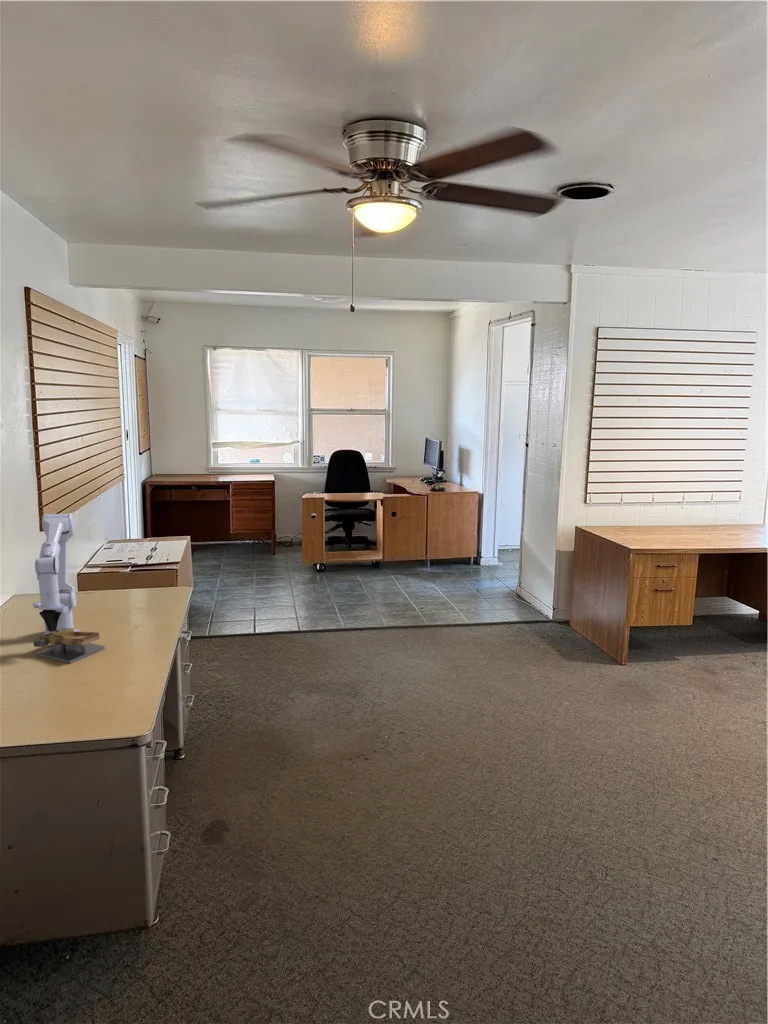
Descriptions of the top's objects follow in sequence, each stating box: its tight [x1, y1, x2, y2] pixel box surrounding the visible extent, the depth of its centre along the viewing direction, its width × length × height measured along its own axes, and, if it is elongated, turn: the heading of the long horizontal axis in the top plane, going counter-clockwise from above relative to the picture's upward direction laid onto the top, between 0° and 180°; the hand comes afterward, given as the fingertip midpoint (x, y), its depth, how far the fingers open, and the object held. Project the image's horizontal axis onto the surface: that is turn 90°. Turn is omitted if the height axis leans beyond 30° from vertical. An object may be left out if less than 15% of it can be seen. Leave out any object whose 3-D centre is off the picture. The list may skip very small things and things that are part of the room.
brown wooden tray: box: [32, 630, 100, 648], centre depth 218 cm, size 20×12×3 cm, turn 66°
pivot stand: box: [35, 642, 106, 664], centre depth 218 cm, size 16×14×5 cm
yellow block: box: [52, 627, 75, 638], centre depth 219 cm, size 5×4×2 cm
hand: (52, 630), depth 221 cm, fingers closed
